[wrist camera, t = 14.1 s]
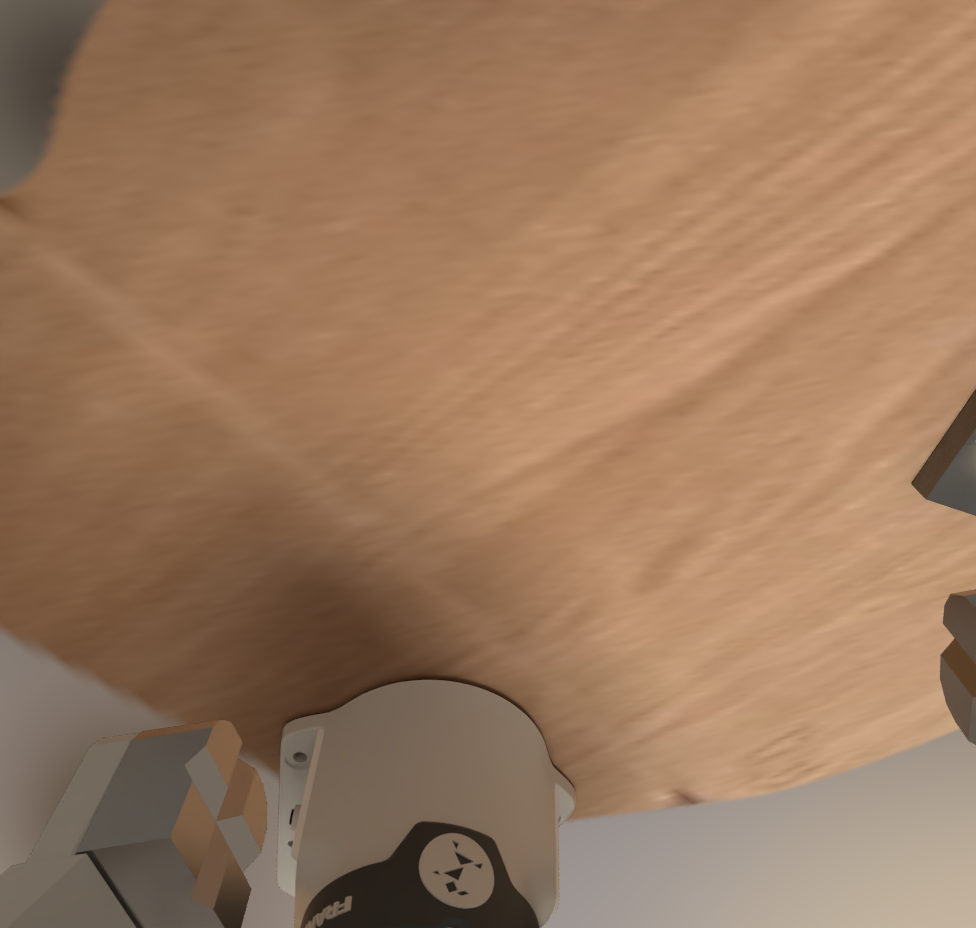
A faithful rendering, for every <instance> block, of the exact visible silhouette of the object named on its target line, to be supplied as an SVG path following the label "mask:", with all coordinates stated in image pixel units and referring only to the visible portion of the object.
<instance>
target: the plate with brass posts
mask: <svg viewBox="0 0 976 928" xmlns="http://www.w3.org/2000/svg"><path fill="white" fill-rule="evenodd" d="M912 485H913V486H914V487H915V489H916V490H917V491H918V492H919V493H920V494H921V495H922V496H923V497H924V498H925V499H927V500H930V501H933V502H936V503H939V504H942V505H945V506H948V507H951V508H954V509H957V510H960V511H963V512H966V513H969V514H972V515H975V516H976V391H975V392H974V394H973V395H972V396H971V398H970V399H969V401H968V402H967V404H966V405H965V407H964V408H963V410H962V411H961V413H960V414H959V415H958V417H957V418H956V420H955V421H954V423H953V424H952V426H951V427H950V429H949V430H948V431H947V433H946V434H945V436H944V437H943V439H942V440H941V442H940V443H939V445H938V446H937V448H936V449H935V450H934V452H933V453H932V455H931V456H930V458H929V459H928V461H927V462H926V464H925V465H924V466H923V468H922V469H921V471H920V472H919V474H918V475H917V477H916V478H915V480H914V481H913V483H912Z"/></svg>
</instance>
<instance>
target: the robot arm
mask: <svg viewBox="0 0 976 928" xmlns="http://www.w3.org/2000/svg"><path fill="white" fill-rule="evenodd" d="M943 624H944V625H945V627H946V628H947V629H948V630H949V632H950V633H951V634H952V635H953V637H954V638H955V639H954V640H953V641H952V642H951V643H950V645H949V646H948V647H947V648H946V649H945V650H944V652H943V653H942V654H941V659H940V681H941V684H942V688H943V692H944V696H945V700H946V704H947V706H948V708H949V710H950V712H951V714H952V716H953V718H954V720H955V722H956V723H957V725H958V726H959V728H960V729H961V731H962V732H963V733H964V735H965V736H966V738H967V739H968V740H969V741H970V742H972V743H974V744H975V745H976V589H975V590H969V591H964V592H958V593H953V594H950V596H949V598H948V599H947V601H946V603H945V605H944V616H943ZM241 745H242V740H241V738H240V737H239V735H238V733H237V731H236V729H235V727H234V726H233V724H232V722H229V721H225V720H215V721H208V722H202V723H195V724H188V725H181V726H174V727H168V728H161V729H154V730H147V731H142V732H141V733H134V734H126V735H119V736H112V737H105V738H102V739H101V740H99V741H97V742H96V743H95V744H93V745H92V746H90V748H89V750H88V751H87V754H86V755H85V757H84V759H83V760H82V762H81V764H80V766H79V768H78V769H77V771H76V773H75V775H74V777H73V778H72V780H71V782H70V784H69V786H68V787H67V789H66V791H65V793H64V795H63V797H62V798H61V800H60V802H59V804H58V806H57V807H56V809H55V811H54V813H53V815H52V816H51V818H50V820H49V822H48V824H47V825H46V827H45V829H44V831H43V833H42V834H41V836H40V838H39V840H38V842H37V844H36V845H35V847H34V849H33V851H32V853H31V854H30V856H29V858H28V860H27V861H26V863H22V864H17V865H12V866H11V867H10V868H9V869H7V870H6V871H5V872H4V873H3V874H1V875H0V928H241V926H242V922H243V918H244V915H245V911H246V907H247V903H248V900H249V896H250V892H251V887H250V886H249V884H248V882H247V880H246V878H245V876H244V874H243V872H244V871H245V870H246V869H247V868H248V867H249V865H250V864H251V863H252V862H253V861H254V860H255V859H256V858H257V856H258V855H259V854H260V853H261V850H262V846H263V842H264V838H265V834H266V830H267V801H266V797H265V792H264V788H263V784H262V782H261V779H260V777H259V775H258V773H257V771H256V769H255V768H253V767H251V766H250V765H248V764H246V763H245V762H243V761H241V760H240V759H238V755H239V752H240V749H241ZM300 752H301V753H300ZM574 809H575V790H574V788H573V786H572V785H571V784H570V783H569V781H568V780H567V779H566V778H565V777H564V776H563V775H562V774H561V773H559V772H558V771H557V770H556V769H555V768H554V767H553V765H552V763H551V760H550V758H549V755H548V751H547V748H546V745H545V742H544V740H543V737H542V735H541V734H540V732H539V730H538V729H537V727H536V726H535V725H534V723H533V722H532V721H531V720H530V719H529V718H528V716H527V715H526V714H524V713H523V712H522V711H521V710H520V709H519V708H517V707H516V706H515V705H513V704H512V703H510V702H509V701H507V700H505V699H504V698H502V697H500V696H498V695H496V694H494V693H492V692H489V691H487V690H484V689H481V688H478V687H475V686H472V685H468V684H463V683H458V682H452V681H444V680H414V681H405V682H399V683H394V684H390V685H386V686H383V687H379V688H377V689H374V690H371V691H369V692H367V693H364V694H362V695H360V696H358V697H357V698H355V699H353V700H352V701H350V702H348V703H347V704H345V705H343V706H342V707H340V708H338V709H336V710H333V711H331V712H328V713H322V714H317V715H311V716H306V717H302V718H298V719H295V720H293V721H291V722H289V723H287V724H286V725H285V727H284V728H283V732H282V738H281V747H280V779H279V812H278V814H279V815H278V845H277V884H278V885H279V887H280V888H281V889H282V890H284V891H285V892H287V893H288V894H290V895H291V896H293V897H294V898H295V910H294V911H295V912H294V928H541V927H542V926H543V925H544V924H545V923H546V922H547V921H548V919H549V917H550V916H551V914H553V913H555V912H556V911H557V908H558V904H559V840H558V827H559V826H560V825H561V824H562V823H563V822H564V821H565V820H566V819H567V818H568V817H569V816H570V815H571V814H572V812H573V811H574Z"/></svg>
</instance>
